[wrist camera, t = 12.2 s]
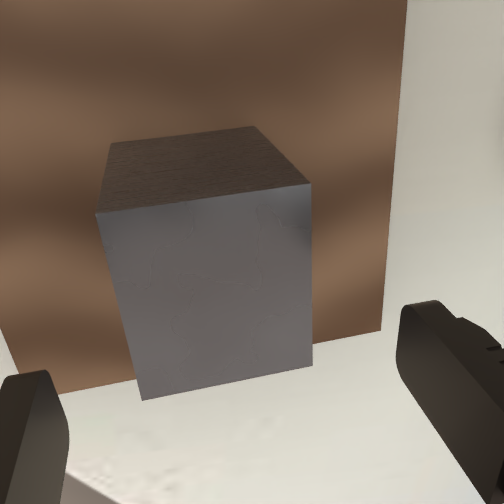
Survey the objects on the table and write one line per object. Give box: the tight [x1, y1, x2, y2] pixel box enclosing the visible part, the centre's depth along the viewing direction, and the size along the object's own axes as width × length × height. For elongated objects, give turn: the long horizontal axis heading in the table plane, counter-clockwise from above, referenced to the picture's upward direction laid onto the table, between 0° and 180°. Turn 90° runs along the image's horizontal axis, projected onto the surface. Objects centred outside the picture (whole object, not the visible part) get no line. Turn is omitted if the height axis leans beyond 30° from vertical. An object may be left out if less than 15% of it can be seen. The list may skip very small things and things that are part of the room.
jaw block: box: [95, 126, 313, 401], centre depth 16 cm, size 6×6×7 cm
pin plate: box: [0, 0, 407, 394], centre depth 19 cm, size 17×18×4 cm
